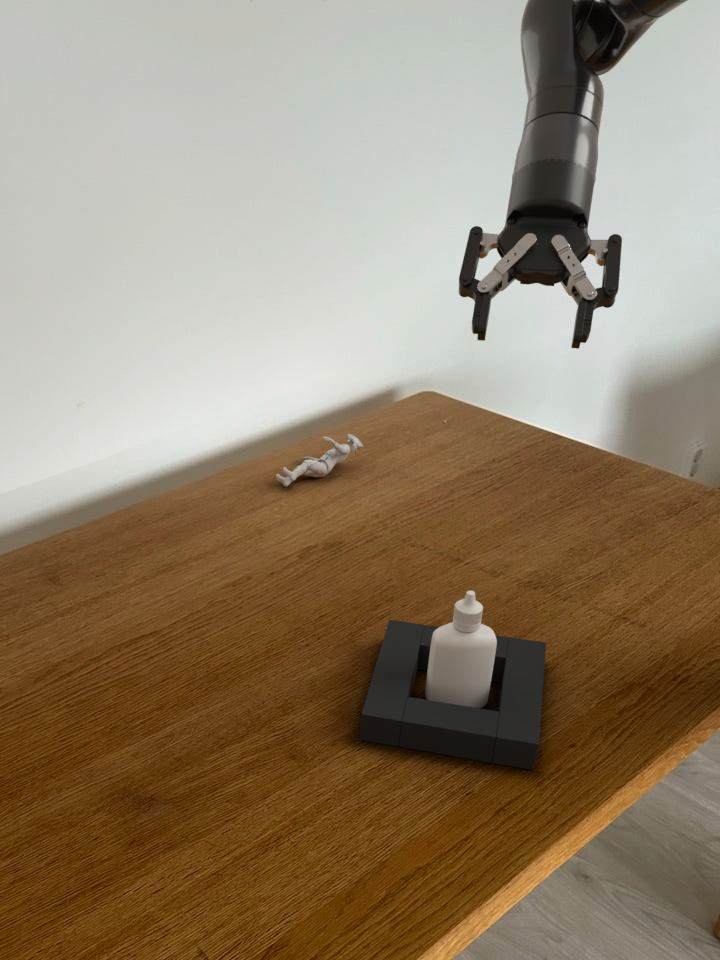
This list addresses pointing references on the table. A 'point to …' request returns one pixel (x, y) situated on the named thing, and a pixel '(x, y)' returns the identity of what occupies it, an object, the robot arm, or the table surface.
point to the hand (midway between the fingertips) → (528, 340)
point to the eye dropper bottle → (462, 657)
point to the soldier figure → (322, 461)
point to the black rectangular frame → (449, 725)
